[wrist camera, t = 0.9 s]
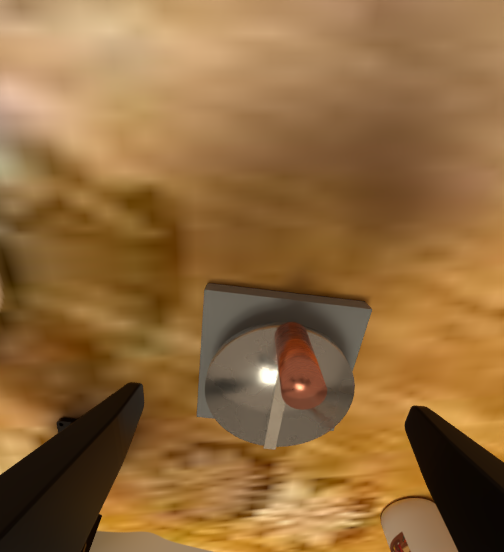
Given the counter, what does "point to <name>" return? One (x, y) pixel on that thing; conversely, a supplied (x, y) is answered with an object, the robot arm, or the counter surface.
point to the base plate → (275, 308)
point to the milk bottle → (416, 527)
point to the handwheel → (279, 384)
